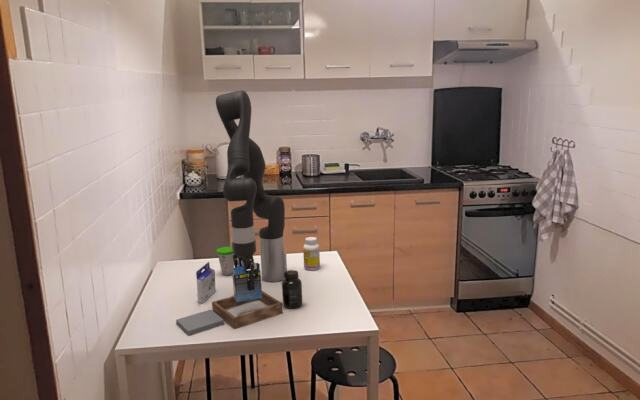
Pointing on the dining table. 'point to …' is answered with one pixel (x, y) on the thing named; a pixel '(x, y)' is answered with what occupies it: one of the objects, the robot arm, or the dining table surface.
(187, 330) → the grey rectangular slab
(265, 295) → the bin
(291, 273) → the supplement bottle
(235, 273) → the blue product box
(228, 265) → the cup
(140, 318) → the dining table surface
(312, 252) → the supplement bottle
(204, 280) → the ink box
